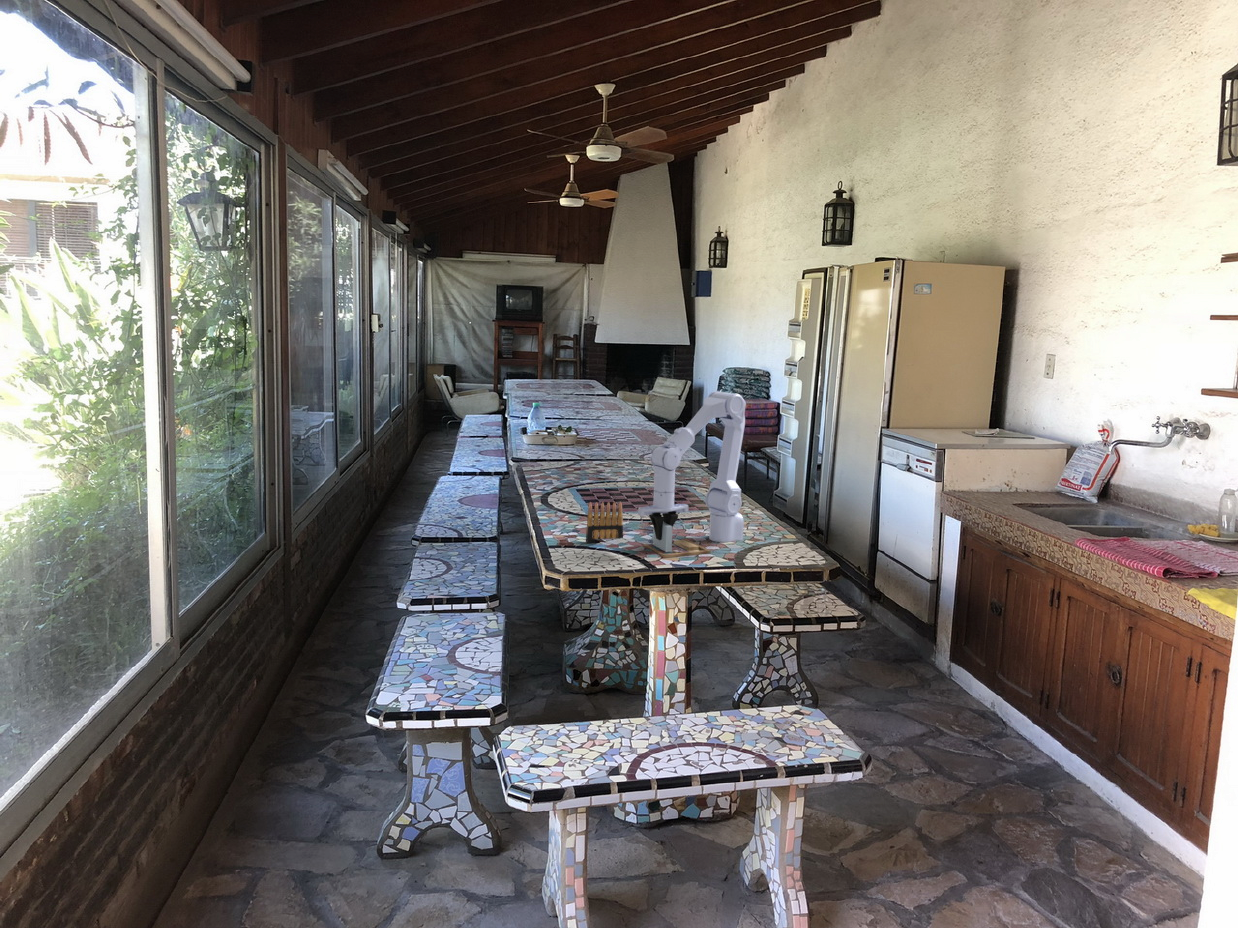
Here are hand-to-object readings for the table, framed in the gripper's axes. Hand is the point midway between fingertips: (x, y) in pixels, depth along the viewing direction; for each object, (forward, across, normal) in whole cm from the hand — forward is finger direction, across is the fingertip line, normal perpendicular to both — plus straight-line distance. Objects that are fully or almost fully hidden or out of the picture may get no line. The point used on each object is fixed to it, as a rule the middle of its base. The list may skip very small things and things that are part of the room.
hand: (662, 538), depth 239 cm
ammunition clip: (+4, +11, -16) cm, 20 cm away
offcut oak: (+3, -7, 0) cm, 8 cm away
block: (+3, 0, 0) cm, 3 cm away
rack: (+4, -3, +1) cm, 5 cm away
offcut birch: (+4, -7, 0) cm, 8 cm away
